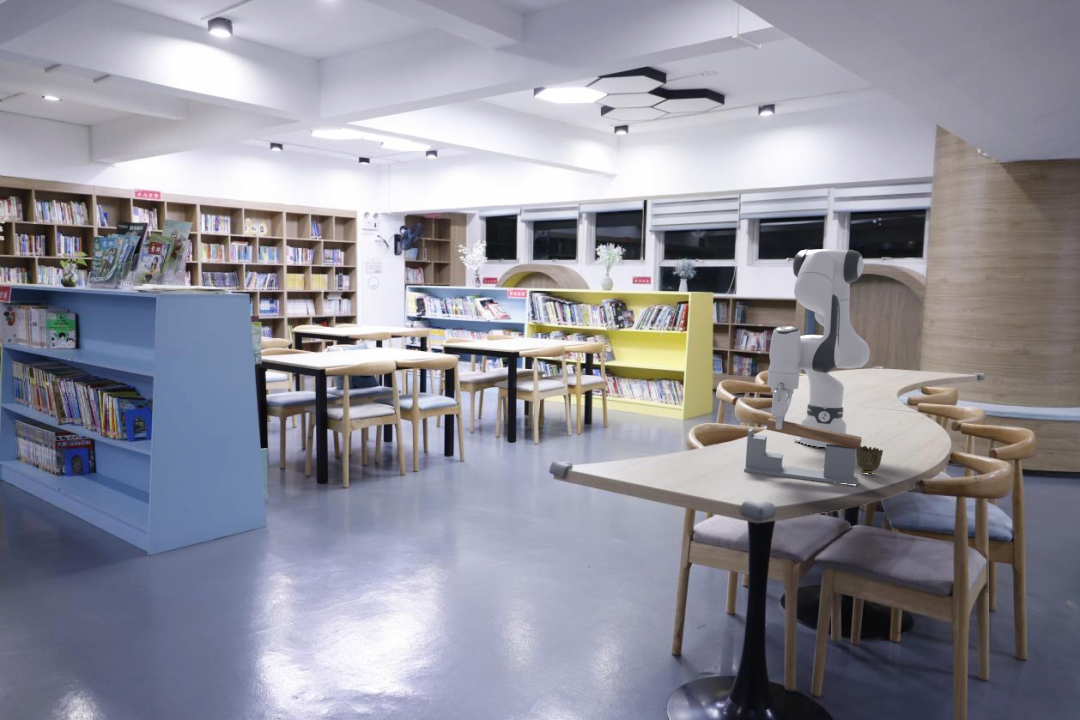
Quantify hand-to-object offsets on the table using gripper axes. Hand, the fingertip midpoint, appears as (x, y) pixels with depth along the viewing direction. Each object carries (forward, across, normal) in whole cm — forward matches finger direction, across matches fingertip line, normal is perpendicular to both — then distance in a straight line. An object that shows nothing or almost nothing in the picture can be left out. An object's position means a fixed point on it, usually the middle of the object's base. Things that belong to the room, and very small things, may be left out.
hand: (779, 427), depth 220 cm
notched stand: (+14, 0, -7) cm, 15 cm away
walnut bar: (+6, 0, -7) cm, 9 cm away
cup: (+14, +12, -25) cm, 31 cm away
